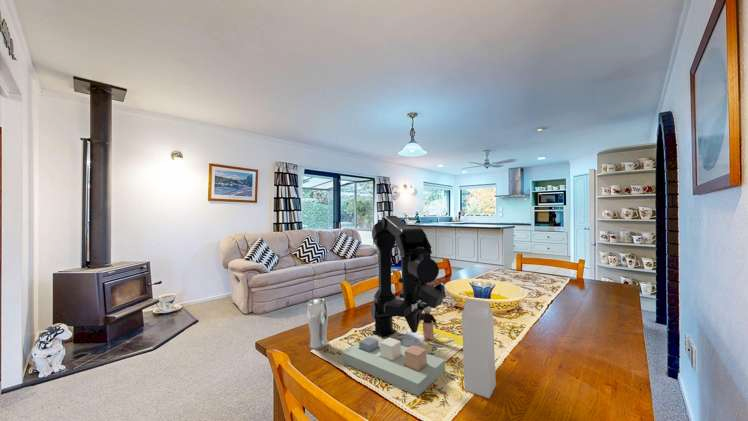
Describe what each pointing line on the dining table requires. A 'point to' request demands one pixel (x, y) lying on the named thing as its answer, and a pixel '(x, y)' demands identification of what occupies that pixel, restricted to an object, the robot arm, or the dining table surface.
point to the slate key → (368, 344)
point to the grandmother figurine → (428, 325)
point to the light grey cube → (390, 349)
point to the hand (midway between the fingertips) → (414, 332)
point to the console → (394, 368)
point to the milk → (478, 347)
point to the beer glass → (318, 322)
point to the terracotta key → (415, 358)
